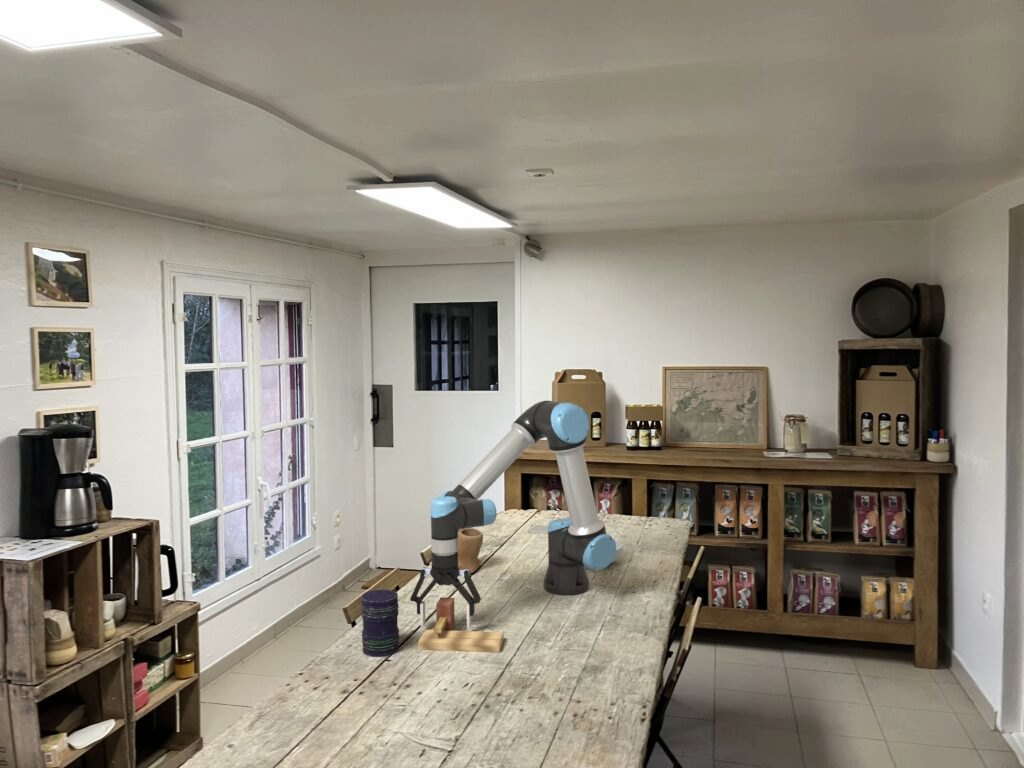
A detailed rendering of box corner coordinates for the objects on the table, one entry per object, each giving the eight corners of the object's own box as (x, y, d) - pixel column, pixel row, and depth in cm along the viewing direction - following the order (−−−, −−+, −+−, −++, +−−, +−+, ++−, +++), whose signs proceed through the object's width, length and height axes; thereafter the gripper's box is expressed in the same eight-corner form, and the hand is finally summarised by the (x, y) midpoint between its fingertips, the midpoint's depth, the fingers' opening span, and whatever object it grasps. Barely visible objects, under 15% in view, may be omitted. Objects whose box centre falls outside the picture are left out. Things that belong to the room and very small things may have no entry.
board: (503, 639, 221) (503, 632, 221) (499, 652, 212) (499, 645, 212) (425, 636, 223) (425, 629, 223) (418, 649, 214) (418, 642, 214)
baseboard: (600, 540, 326) (605, 533, 337) (600, 533, 326) (605, 526, 337) (527, 535, 335) (535, 528, 347) (527, 528, 335) (535, 521, 346)
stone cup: (478, 577, 277) (478, 534, 276) (445, 575, 279) (445, 533, 278) (489, 564, 292) (488, 524, 291) (458, 563, 294) (457, 523, 293)
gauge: (454, 628, 229) (454, 597, 229) (444, 647, 216) (444, 615, 215) (441, 628, 230) (440, 597, 229) (430, 647, 216) (429, 614, 215)
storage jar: (368, 660, 208) (367, 604, 207) (357, 647, 217) (356, 593, 216) (404, 652, 212) (403, 597, 211) (392, 640, 221) (391, 587, 220)
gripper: (489, 549, 227) (490, 622, 229) (405, 547, 230) (406, 619, 232) (485, 556, 220) (486, 632, 221) (398, 554, 223) (400, 629, 224)
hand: (445, 626), depth 226 cm, fingers open, 13 cm apart
